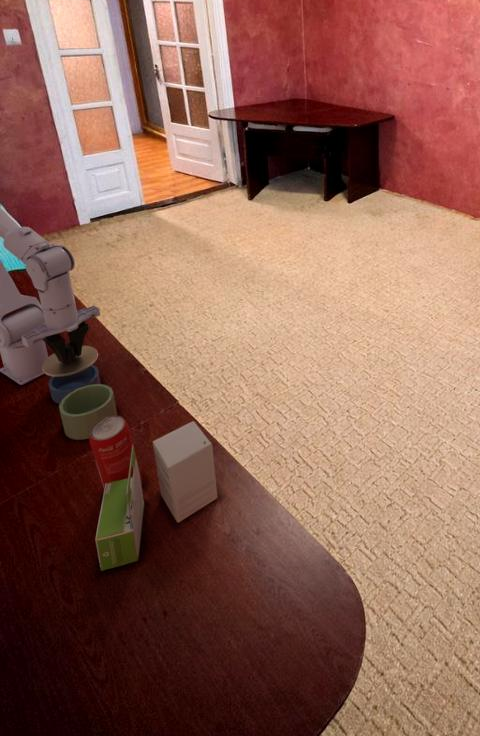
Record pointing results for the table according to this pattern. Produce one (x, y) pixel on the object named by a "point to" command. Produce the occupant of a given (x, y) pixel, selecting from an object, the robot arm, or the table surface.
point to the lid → (70, 361)
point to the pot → (86, 409)
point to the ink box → (121, 520)
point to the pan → (72, 383)
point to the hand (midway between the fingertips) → (69, 357)
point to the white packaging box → (185, 470)
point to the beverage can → (112, 449)
